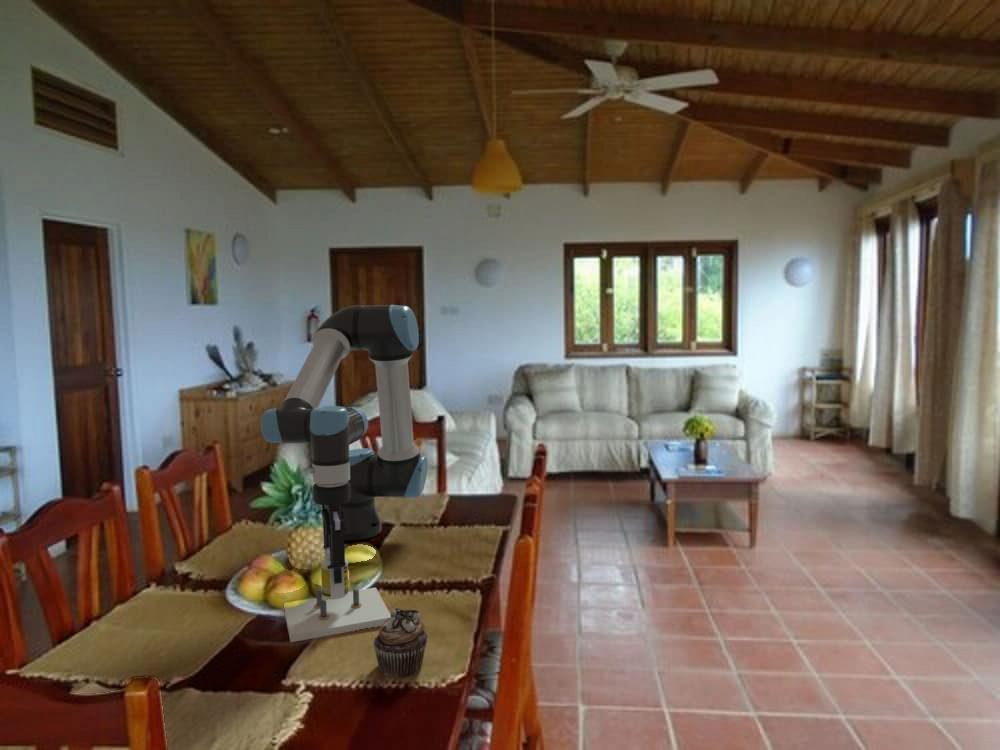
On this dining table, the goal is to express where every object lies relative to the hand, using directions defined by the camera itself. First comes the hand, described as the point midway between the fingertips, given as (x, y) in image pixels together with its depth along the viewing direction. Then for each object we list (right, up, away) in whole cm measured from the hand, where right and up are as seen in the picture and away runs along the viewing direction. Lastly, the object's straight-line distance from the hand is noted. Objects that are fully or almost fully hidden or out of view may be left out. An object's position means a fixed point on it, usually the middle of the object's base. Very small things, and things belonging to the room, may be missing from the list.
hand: (335, 591), depth 149 cm
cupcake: (+16, -8, -19) cm, 27 cm away
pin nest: (0, -6, +1) cm, 6 cm away
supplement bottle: (0, -1, 0) cm, 1 cm away
